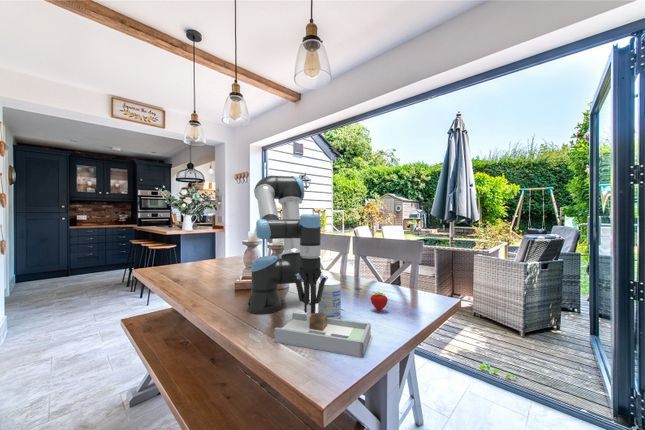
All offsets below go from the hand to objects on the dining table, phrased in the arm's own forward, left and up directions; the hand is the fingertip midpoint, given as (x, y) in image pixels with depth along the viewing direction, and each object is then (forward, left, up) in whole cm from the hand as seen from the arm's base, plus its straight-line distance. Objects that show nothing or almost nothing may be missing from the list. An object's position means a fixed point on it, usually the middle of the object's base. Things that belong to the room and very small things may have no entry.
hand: (309, 321), depth 98 cm
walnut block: (+3, 0, -2) cm, 4 cm away
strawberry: (+21, +30, -4) cm, 37 cm away
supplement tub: (+2, +17, -4) cm, 18 cm away
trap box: (+6, -3, -4) cm, 8 cm away
